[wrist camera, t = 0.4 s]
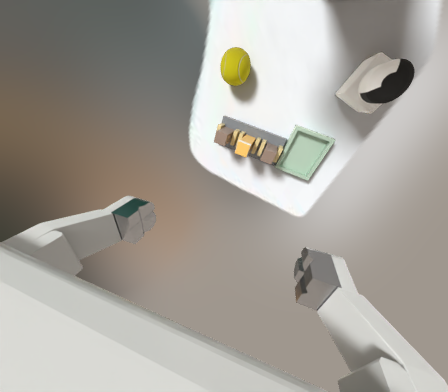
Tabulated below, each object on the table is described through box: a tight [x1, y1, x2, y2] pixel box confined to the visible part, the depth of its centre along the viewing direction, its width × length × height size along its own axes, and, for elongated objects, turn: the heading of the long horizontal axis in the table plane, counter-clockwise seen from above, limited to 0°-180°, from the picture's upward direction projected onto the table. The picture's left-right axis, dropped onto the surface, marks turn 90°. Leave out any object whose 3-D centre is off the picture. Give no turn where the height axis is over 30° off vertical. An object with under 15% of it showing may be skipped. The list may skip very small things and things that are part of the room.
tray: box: [275, 125, 335, 181], centre depth 44 cm, size 12×10×3 cm
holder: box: [214, 116, 287, 165], centre depth 44 cm, size 19×8×9 cm, turn 74°
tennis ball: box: [221, 47, 251, 86], centre depth 38 cm, size 7×7×7 cm
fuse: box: [235, 134, 256, 157], centre depth 43 cm, size 3×3×10 cm
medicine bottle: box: [335, 52, 414, 114], centre depth 31 cm, size 7×7×12 cm
